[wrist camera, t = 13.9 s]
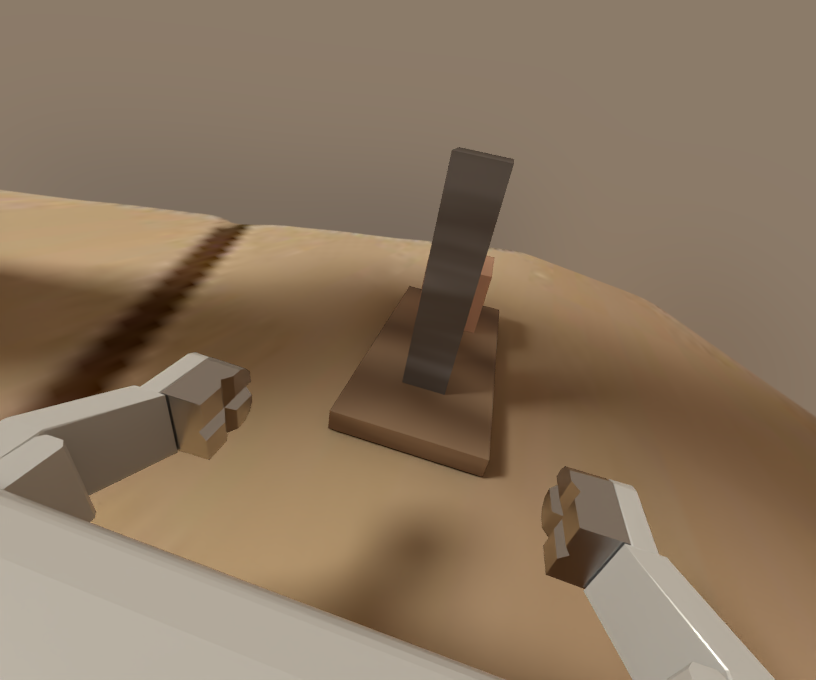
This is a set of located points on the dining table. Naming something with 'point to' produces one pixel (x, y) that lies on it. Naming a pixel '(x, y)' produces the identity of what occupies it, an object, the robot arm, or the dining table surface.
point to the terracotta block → (478, 294)
